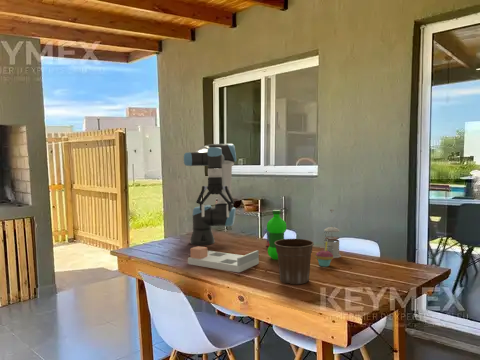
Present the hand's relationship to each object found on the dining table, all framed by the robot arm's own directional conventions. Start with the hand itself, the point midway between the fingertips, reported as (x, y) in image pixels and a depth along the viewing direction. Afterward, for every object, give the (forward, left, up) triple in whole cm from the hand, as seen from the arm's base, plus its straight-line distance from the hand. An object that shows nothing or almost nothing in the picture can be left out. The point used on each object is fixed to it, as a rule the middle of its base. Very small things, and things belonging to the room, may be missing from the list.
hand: (215, 216), depth 200 cm
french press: (+51, +33, -22) cm, 65 cm away
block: (0, -14, -18) cm, 23 cm away
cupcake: (+55, +12, -22) cm, 61 cm away
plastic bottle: (+29, +13, -22) cm, 39 cm away
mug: (+15, +38, -22) cm, 47 cm away
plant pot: (+52, -17, -22) cm, 59 cm away
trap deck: (+11, -10, -21) cm, 26 cm away
